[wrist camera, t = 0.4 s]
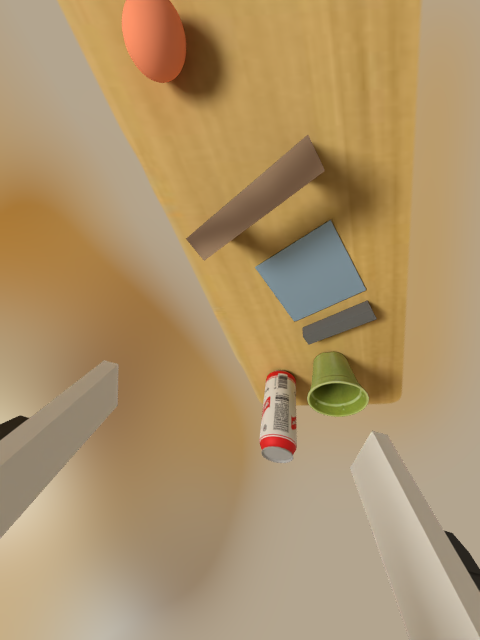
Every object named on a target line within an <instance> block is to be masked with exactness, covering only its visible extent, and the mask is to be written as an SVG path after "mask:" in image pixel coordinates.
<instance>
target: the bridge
mask: <svg viewBox="0 0 480 640" xmlns="http://www.w3.org/2000/svg"><path fill="white" fill-rule="evenodd" d="M324 171H325V170H324V167H323V165H322V163H321V161H320V159H319V157H318V155H317V153H316V150H315V148H314V146H313V144H312V142H311V140H310V138H309V136H308V135H307V136H306V137H305V138H303V139H302V140H301V141H300V142H299V143H298V144H296V145H295V146H294V147H293V148H292V149H291V150H289V151H288V152H287V153H286V154H285V155H284V156H282V157H281V158H280V159H279V160H278V161H277V162H275V163H274V164H273V165H272V166H271V167H269V168H268V169H267V170H266V171H265V172H264V173H262V174H261V175H260V176H259V177H258V178H257V179H255V180H254V181H253V182H252V183H251V184H250V185H248V186H247V187H246V188H245V189H244V190H243V191H241V192H240V193H239V194H238V195H237V196H236V197H234V198H233V199H232V200H231V201H230V202H229V203H227V204H226V205H225V206H224V207H223V208H221V209H220V210H219V211H218V212H217V213H216V214H214V215H213V216H212V217H211V218H210V219H209V220H207V221H206V222H205V223H204V224H203V225H202V226H200V227H199V228H198V229H197V230H196V231H195V232H193V233H192V234H191V235H190V236H189V237H188V238H186V239H187V241H188V242H189V243H190V244H191V245H192V247H193V248H194V249H195V250H196V252H197V253H198V254H199V255H200V256H201V258H202V259H203V260H206V259H207V258H208V257H210V256H211V255H212V254H214V253H215V252H216V251H218V250H219V249H220V248H222V247H223V246H224V245H226V244H227V243H228V242H230V241H231V240H233V239H234V238H235V237H237V236H238V235H239V234H241V233H242V232H243V231H245V230H246V229H247V228H249V227H250V226H251V225H253V224H254V223H255V222H257V221H258V220H259V219H261V218H262V217H263V216H265V215H266V214H268V213H269V212H270V211H272V210H273V209H274V208H276V207H277V206H278V205H280V204H281V203H282V202H284V201H285V200H286V199H288V198H289V197H290V196H292V195H293V194H294V193H296V192H297V191H298V190H300V189H301V188H303V187H304V186H305V185H307V184H308V183H309V182H311V181H312V180H313V179H315V178H316V177H317V176H319V175H320V174H321V173H323V172H324Z"/></svg>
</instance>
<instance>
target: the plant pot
mask: <svg viewBox="0 0 480 640" xmlns="http://www.w3.org/2000/svg"><path fill="white" fill-rule="evenodd" d="M307 401H308V404H309V406H310V407H311V408H312V409H314V410H315V411H317V412H318V413H321V414H324V415H327V416H334V417H343V416H348V415H353V414H356V413H358V412H360V411H362V410H363V409H364V408H365V407H366V406H367V405H368V402H369V396H368V394H367V392H366V391H365V390H364V389H363V388H362V387H361V386H360V384H359V383H358V382H357V380H356V378H355V376H354V374H353V372H352V370H351V368H350V365H349V363H348V361H347V359H346V358H345V356H343V355H342V354H340V353H338V352H329V353H321V354H319V355H318V356H317V357H316V358H315V359H314V363H313V376H312V386H311V388H310V391H309V393H308V396H307Z"/></svg>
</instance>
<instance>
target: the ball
mask: <svg viewBox="0 0 480 640" xmlns="http://www.w3.org/2000/svg"><path fill="white" fill-rule="evenodd" d="M122 31H123V37H124V41H125V44H126V47H127V50H128V52H129V55H130V57H131V58H132V60H133V62H134V63H135V65H136V66H137V68H138V69H139V70H140V71H141V72H142V73H143V74H144V75H145V76H146V77H148V78H149V79H151V80H153V81H156V82H160V83H165V82H169V81H172V80H173V79H175V78H176V77H177V76H178V75H179V73H180V72H181V70H182V68H183V65H184V62H185V57H186V39H185V32H184V28H183V25H182V22H181V19H180V17H179V15H178V13H177V11H176V9H175V8H174V6H173V5H172V3H171V2H170V1H169V0H126V2H125V4H124V8H123V13H122Z"/></svg>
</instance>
